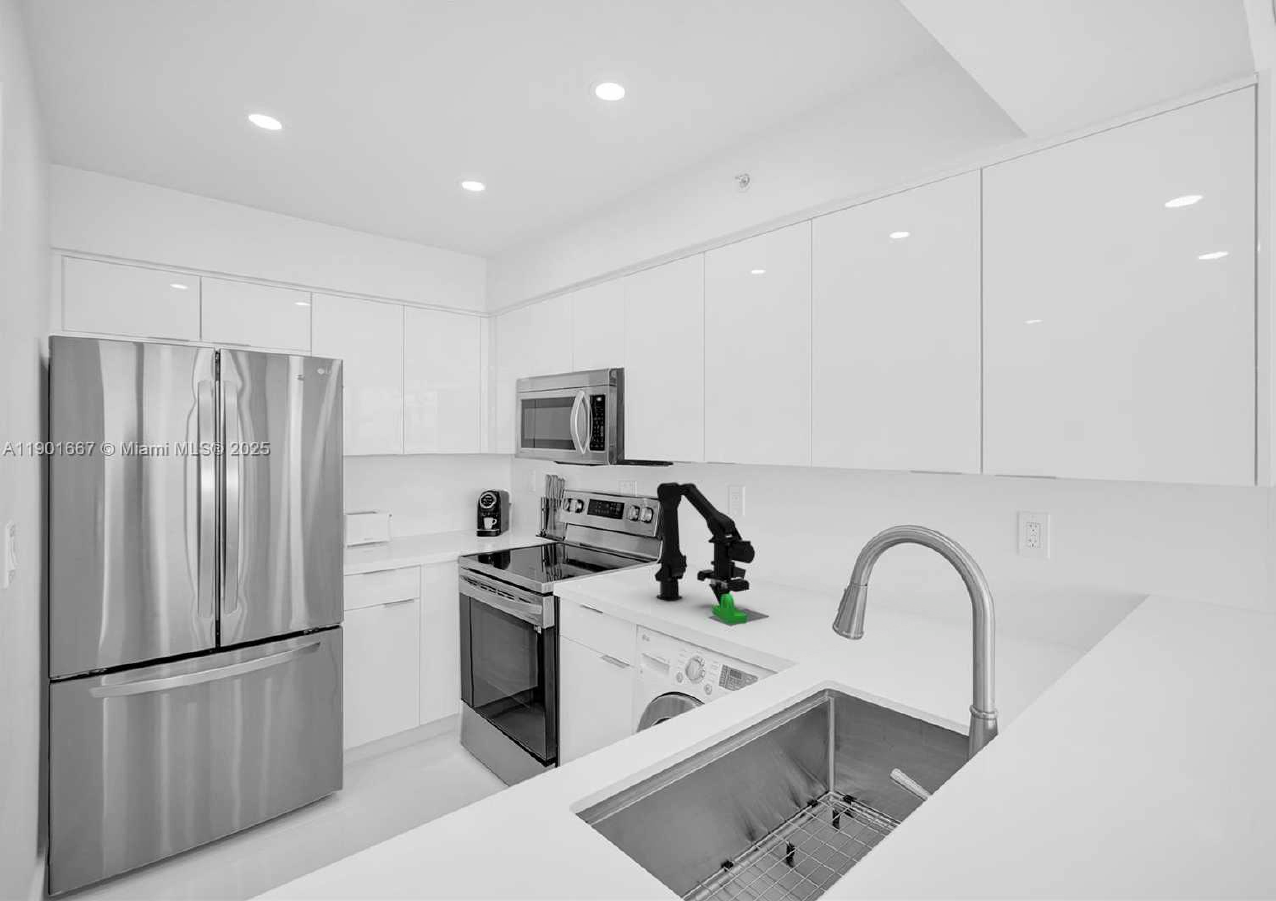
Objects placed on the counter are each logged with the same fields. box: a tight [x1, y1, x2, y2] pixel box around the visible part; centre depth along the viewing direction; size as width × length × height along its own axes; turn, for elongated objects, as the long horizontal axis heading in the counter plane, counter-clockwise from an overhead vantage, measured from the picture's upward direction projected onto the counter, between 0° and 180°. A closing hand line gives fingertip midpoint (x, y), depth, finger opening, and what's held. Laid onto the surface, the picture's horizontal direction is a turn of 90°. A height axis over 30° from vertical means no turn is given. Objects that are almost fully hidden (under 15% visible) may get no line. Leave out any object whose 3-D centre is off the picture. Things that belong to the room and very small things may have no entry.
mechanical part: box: [712, 593, 747, 624], centre depth 190 cm, size 12×6×8 cm, turn 15°
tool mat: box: [708, 608, 769, 627], centre depth 190 cm, size 10×16×1 cm, turn 124°
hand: (722, 607), depth 197 cm, fingers closed
